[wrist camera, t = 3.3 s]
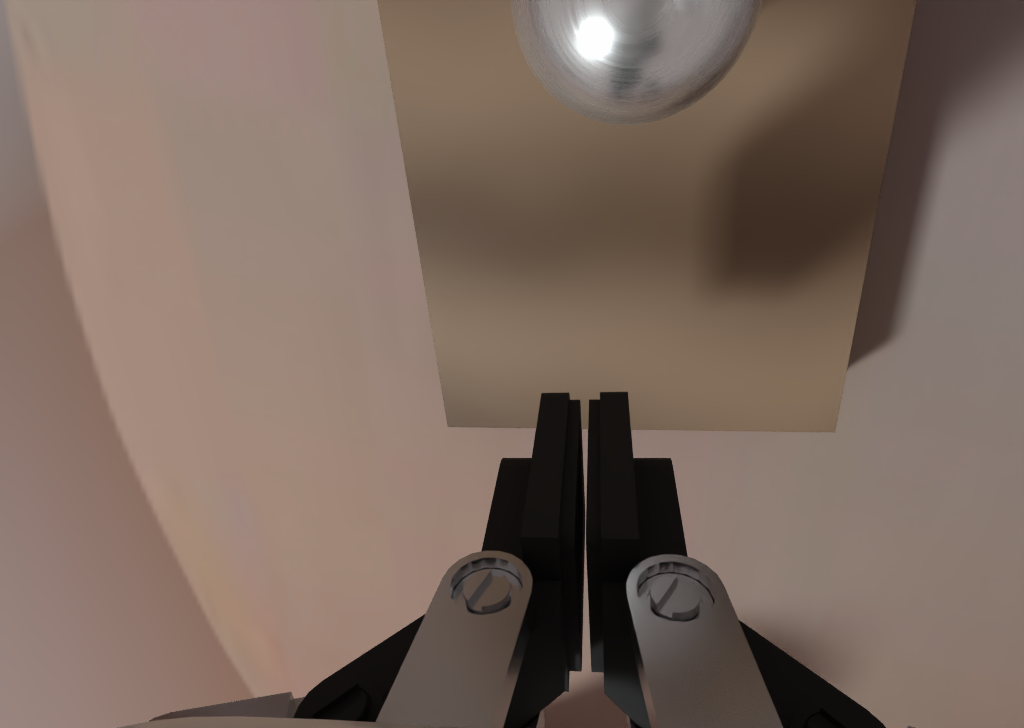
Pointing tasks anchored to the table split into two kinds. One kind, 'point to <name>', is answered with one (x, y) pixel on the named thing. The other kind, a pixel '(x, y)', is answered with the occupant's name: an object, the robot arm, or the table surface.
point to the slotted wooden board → (647, 220)
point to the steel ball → (632, 52)
